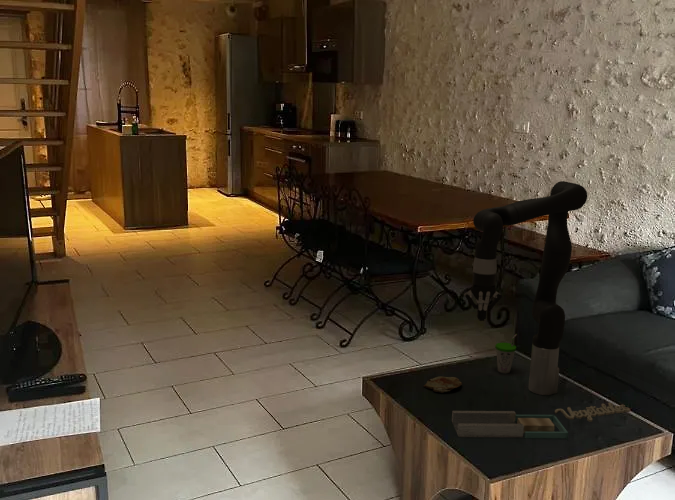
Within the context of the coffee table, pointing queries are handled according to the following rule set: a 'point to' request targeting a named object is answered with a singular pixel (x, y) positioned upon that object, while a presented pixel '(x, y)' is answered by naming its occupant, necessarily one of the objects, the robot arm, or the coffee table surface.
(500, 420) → the slot rail
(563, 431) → the tray
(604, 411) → the decorative sign
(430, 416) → the coffee table surface
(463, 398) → the coffee table surface
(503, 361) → the cup
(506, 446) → the coffee table surface
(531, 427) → the beige square block
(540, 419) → the chip
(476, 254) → the robot arm
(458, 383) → the stone
